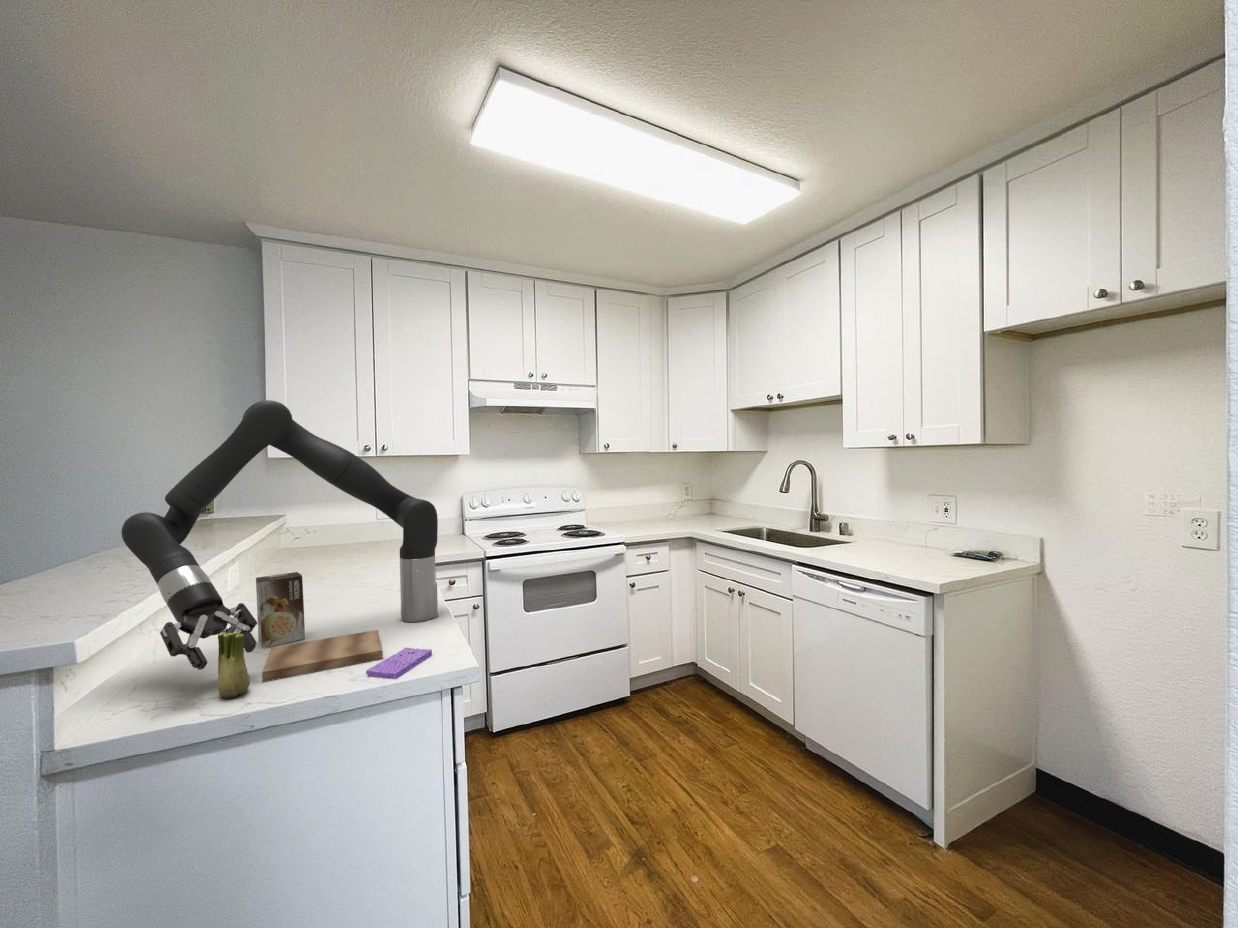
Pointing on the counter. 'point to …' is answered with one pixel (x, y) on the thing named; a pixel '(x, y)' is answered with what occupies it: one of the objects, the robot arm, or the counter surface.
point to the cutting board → (322, 655)
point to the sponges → (399, 663)
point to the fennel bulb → (232, 665)
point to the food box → (280, 609)
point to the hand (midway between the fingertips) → (228, 657)
